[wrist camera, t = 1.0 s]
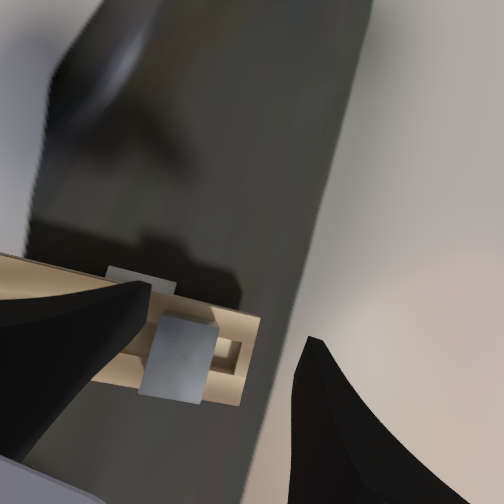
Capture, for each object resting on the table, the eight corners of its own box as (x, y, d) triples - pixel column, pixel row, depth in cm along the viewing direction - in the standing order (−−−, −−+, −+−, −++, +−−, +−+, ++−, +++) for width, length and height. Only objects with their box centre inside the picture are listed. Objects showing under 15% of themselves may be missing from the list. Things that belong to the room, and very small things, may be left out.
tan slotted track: (228, 395, 25) (235, 419, 21) (-23, 349, 21) (-77, 367, 17) (252, 301, 27) (263, 306, 22) (19, 242, 23) (-22, 234, 18)
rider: (198, 380, 21) (200, 404, 18) (148, 371, 21) (137, 393, 17) (215, 319, 22) (220, 328, 18) (167, 307, 21) (161, 314, 17)
